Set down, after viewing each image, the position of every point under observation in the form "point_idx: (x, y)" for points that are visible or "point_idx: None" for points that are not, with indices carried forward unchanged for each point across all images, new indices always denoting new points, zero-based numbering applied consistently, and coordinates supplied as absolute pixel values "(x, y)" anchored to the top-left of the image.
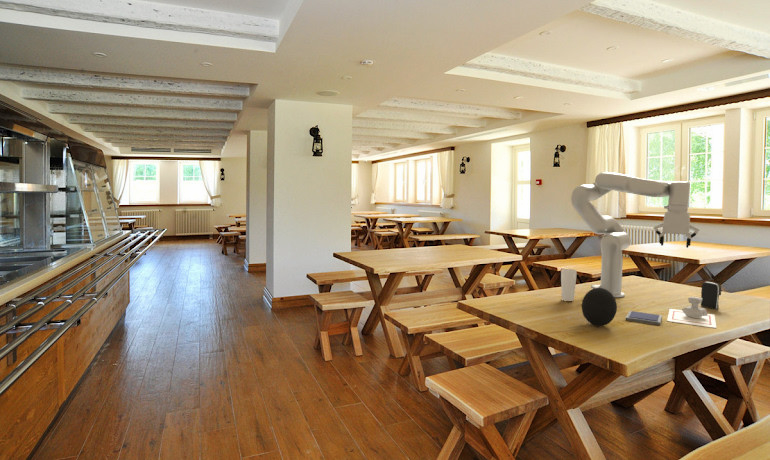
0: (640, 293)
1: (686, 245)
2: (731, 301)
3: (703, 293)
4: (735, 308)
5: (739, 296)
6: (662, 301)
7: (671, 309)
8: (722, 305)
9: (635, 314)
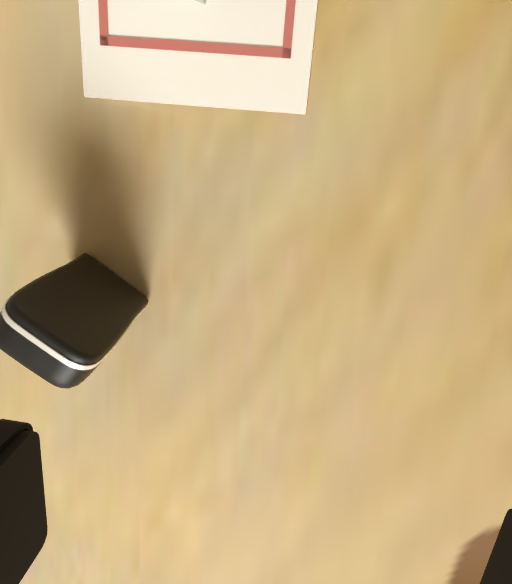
0: (425, 453)
1: (8, 454)
2: None
3: (113, 320)
4: None
5: None
6: (328, 311)
7: (297, 97)
8: None
9: None
